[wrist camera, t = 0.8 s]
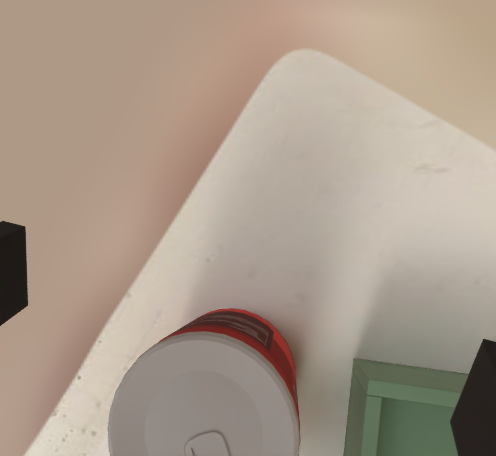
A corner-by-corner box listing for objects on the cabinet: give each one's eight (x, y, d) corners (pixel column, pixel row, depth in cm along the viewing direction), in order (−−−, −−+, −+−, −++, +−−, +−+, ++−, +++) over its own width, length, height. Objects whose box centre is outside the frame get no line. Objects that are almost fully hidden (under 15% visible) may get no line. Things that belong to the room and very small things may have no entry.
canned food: (222, 461, 29) (181, 585, 18) (148, 354, 30) (66, 408, 19) (322, 388, 28) (344, 468, 18) (245, 282, 29) (220, 295, 18)
